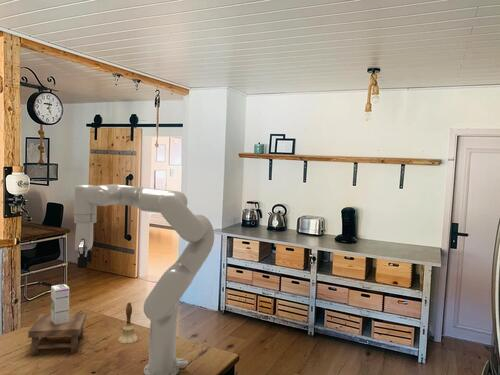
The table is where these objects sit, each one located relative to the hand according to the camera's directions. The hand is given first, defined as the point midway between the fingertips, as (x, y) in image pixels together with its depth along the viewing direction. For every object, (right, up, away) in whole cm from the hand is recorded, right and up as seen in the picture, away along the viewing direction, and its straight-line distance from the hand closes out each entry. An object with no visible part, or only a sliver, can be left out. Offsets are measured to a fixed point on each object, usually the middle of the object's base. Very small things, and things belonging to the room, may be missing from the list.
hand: (84, 264), depth 145 cm
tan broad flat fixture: (-17, -36, +16) cm, 43 cm away
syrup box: (-16, -26, +15) cm, 34 cm away
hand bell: (+8, -37, +24) cm, 45 cm away
